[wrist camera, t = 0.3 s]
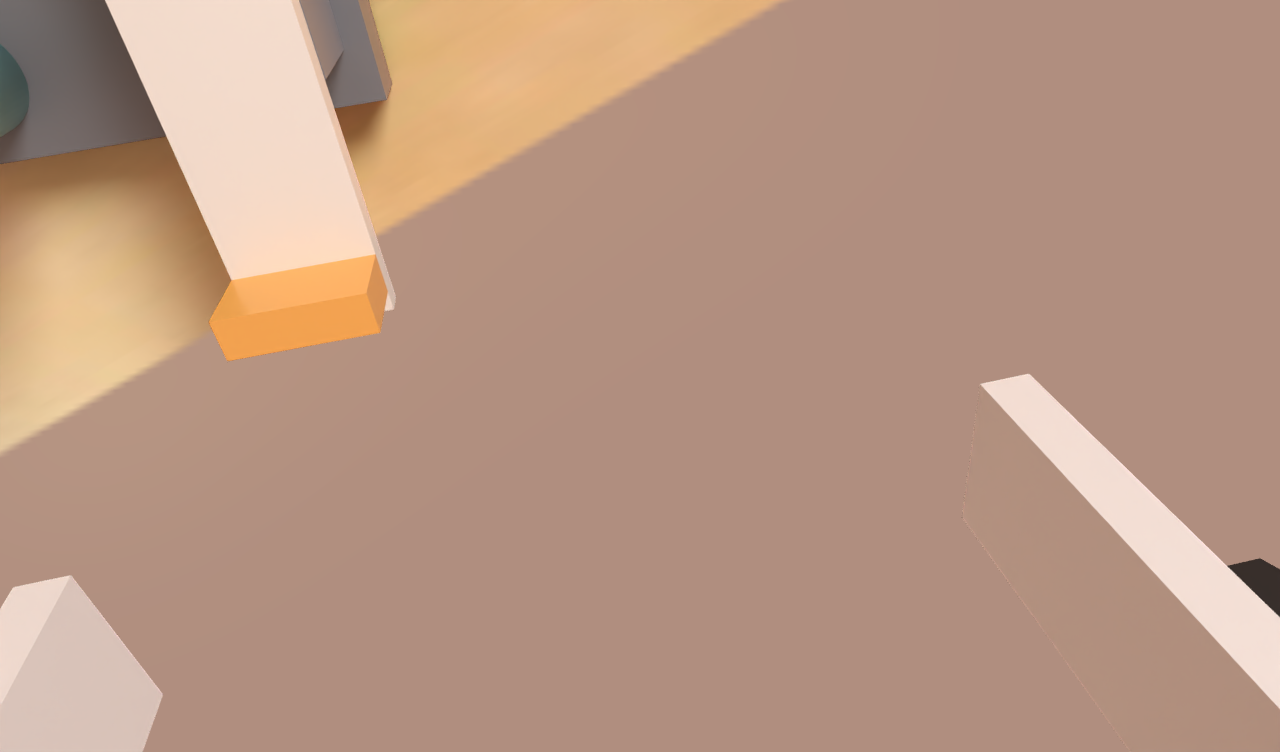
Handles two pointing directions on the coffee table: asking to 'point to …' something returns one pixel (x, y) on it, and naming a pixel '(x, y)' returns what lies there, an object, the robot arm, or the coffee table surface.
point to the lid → (262, 168)
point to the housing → (111, 87)
